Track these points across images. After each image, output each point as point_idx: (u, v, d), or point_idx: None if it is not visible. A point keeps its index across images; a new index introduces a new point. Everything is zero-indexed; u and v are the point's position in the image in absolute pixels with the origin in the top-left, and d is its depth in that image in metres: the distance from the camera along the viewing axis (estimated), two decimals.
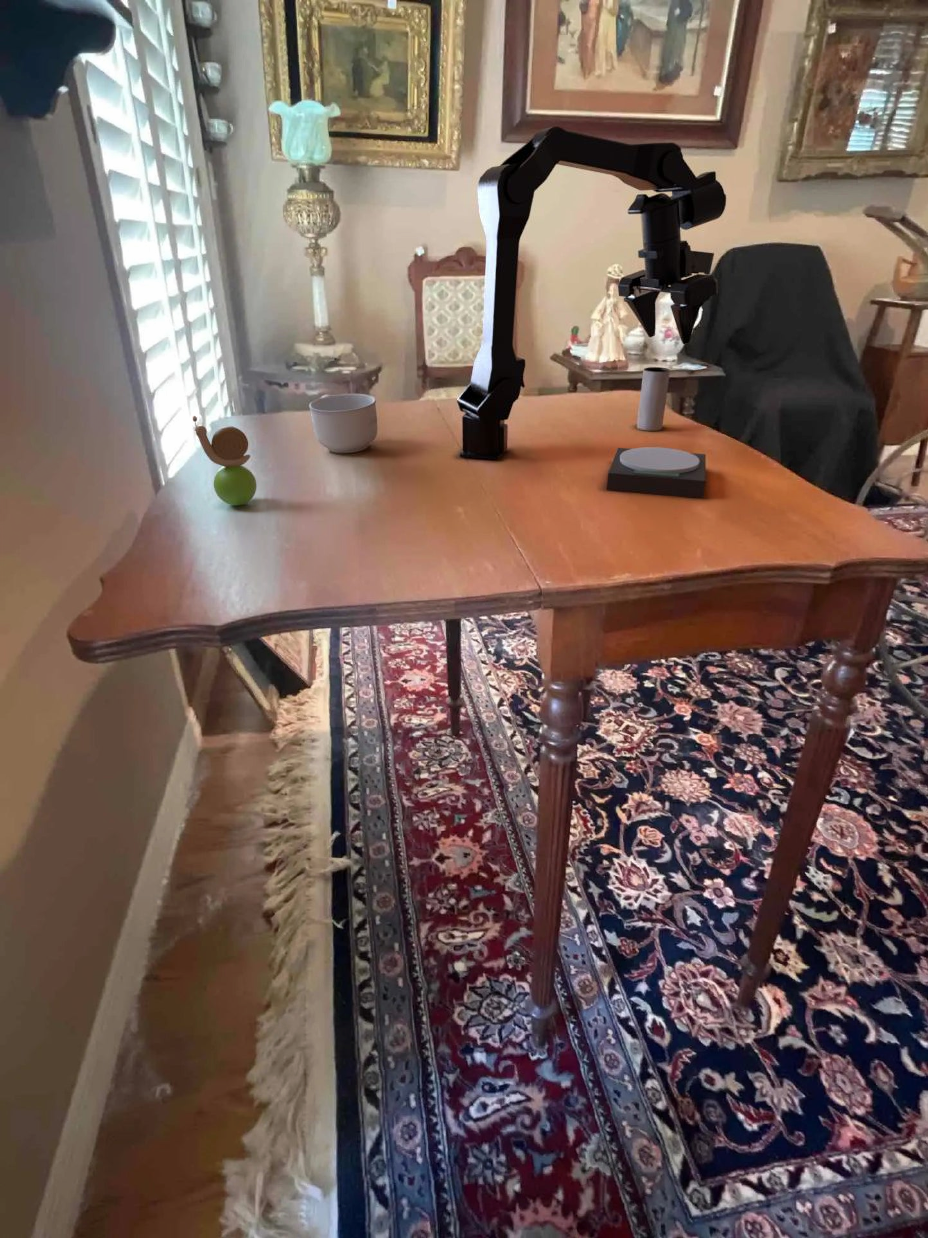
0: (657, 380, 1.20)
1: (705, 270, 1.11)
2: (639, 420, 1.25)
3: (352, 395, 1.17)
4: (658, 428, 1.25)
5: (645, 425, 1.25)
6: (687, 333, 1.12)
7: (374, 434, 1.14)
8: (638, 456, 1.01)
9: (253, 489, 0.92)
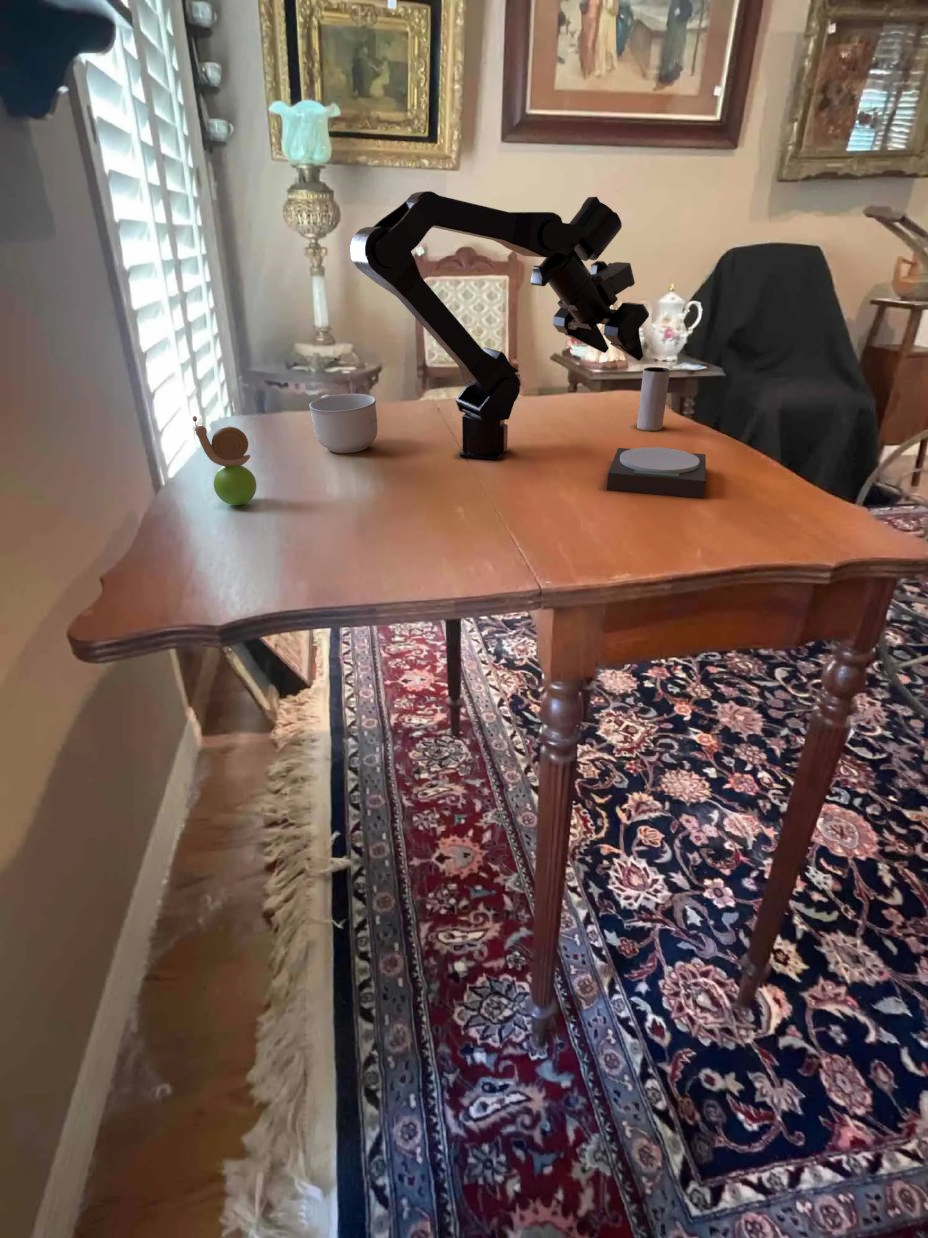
0: (657, 380, 1.20)
1: (629, 284, 1.09)
2: (639, 420, 1.25)
3: (352, 395, 1.17)
4: (658, 428, 1.25)
5: (645, 425, 1.25)
6: (637, 352, 1.12)
7: (374, 434, 1.14)
8: (638, 456, 1.01)
9: (253, 489, 0.92)
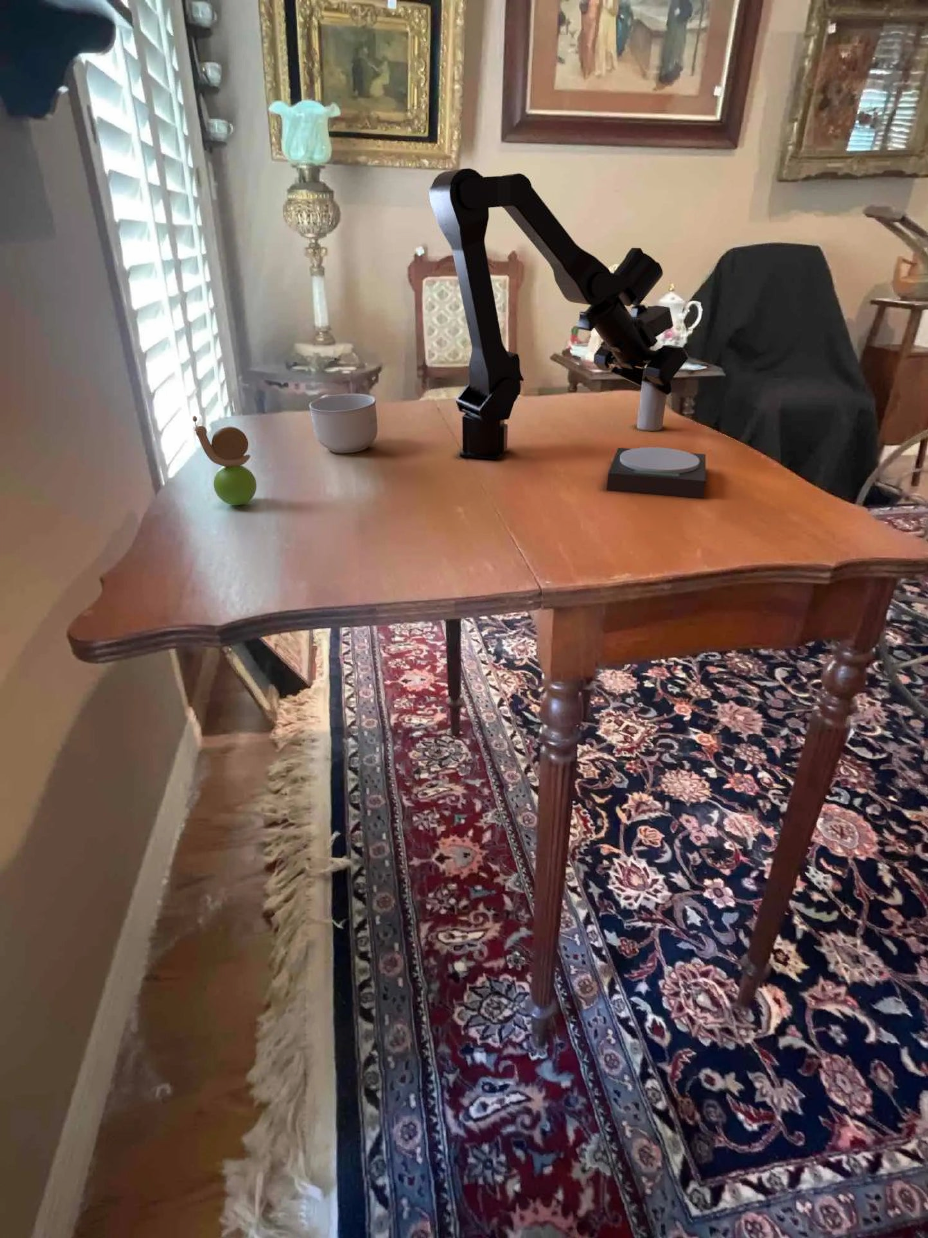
0: None
1: (668, 326, 1.16)
2: (639, 420, 1.25)
3: (352, 395, 1.17)
4: (658, 428, 1.25)
5: (645, 425, 1.25)
6: (666, 387, 1.20)
7: (374, 434, 1.14)
8: (638, 456, 1.01)
9: (253, 489, 0.92)
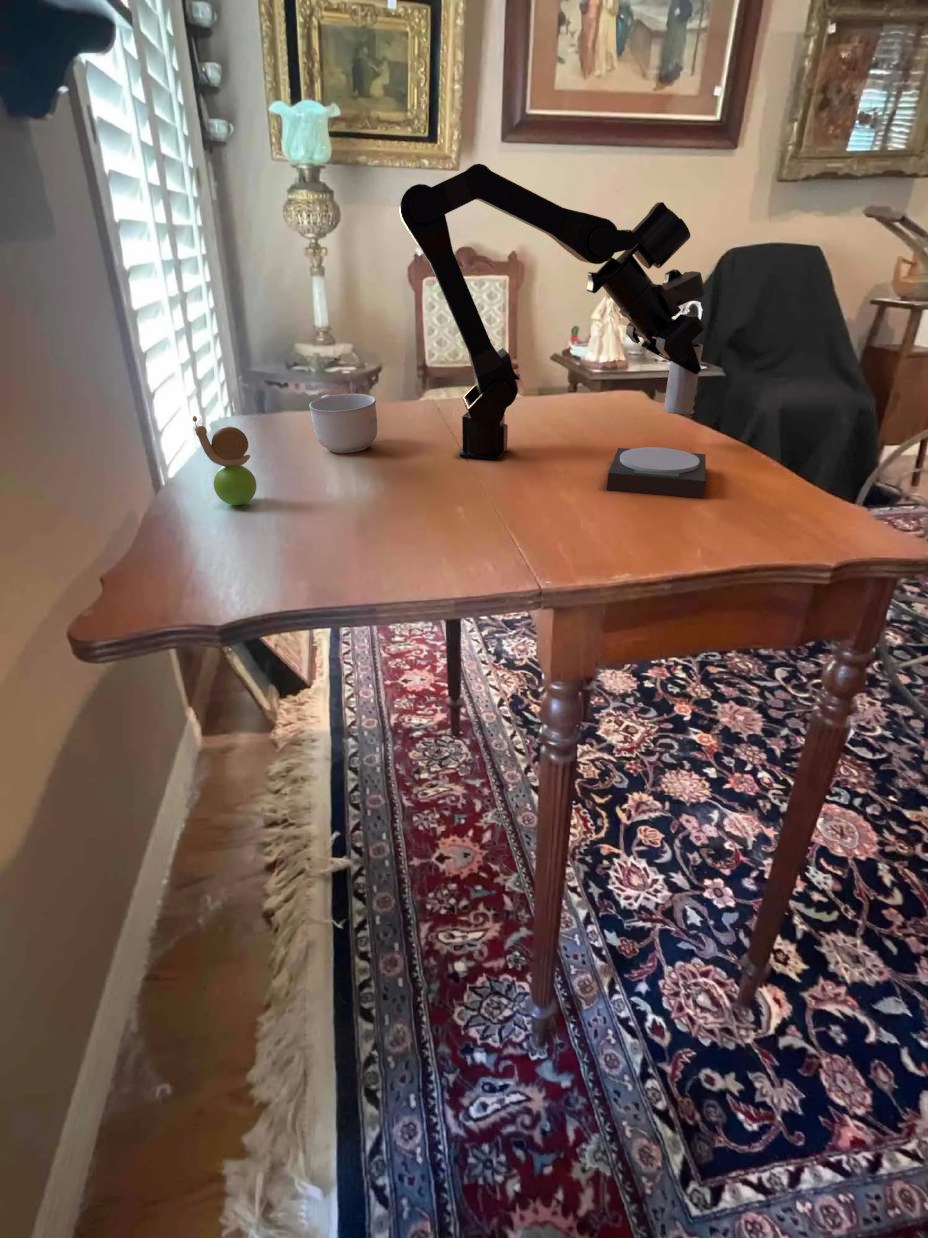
0: None
1: (697, 295, 1.02)
2: None
3: (352, 395, 1.17)
4: (684, 412, 1.11)
5: (669, 407, 1.11)
6: (693, 365, 1.06)
7: (374, 434, 1.14)
8: (638, 456, 1.01)
9: (253, 489, 0.92)
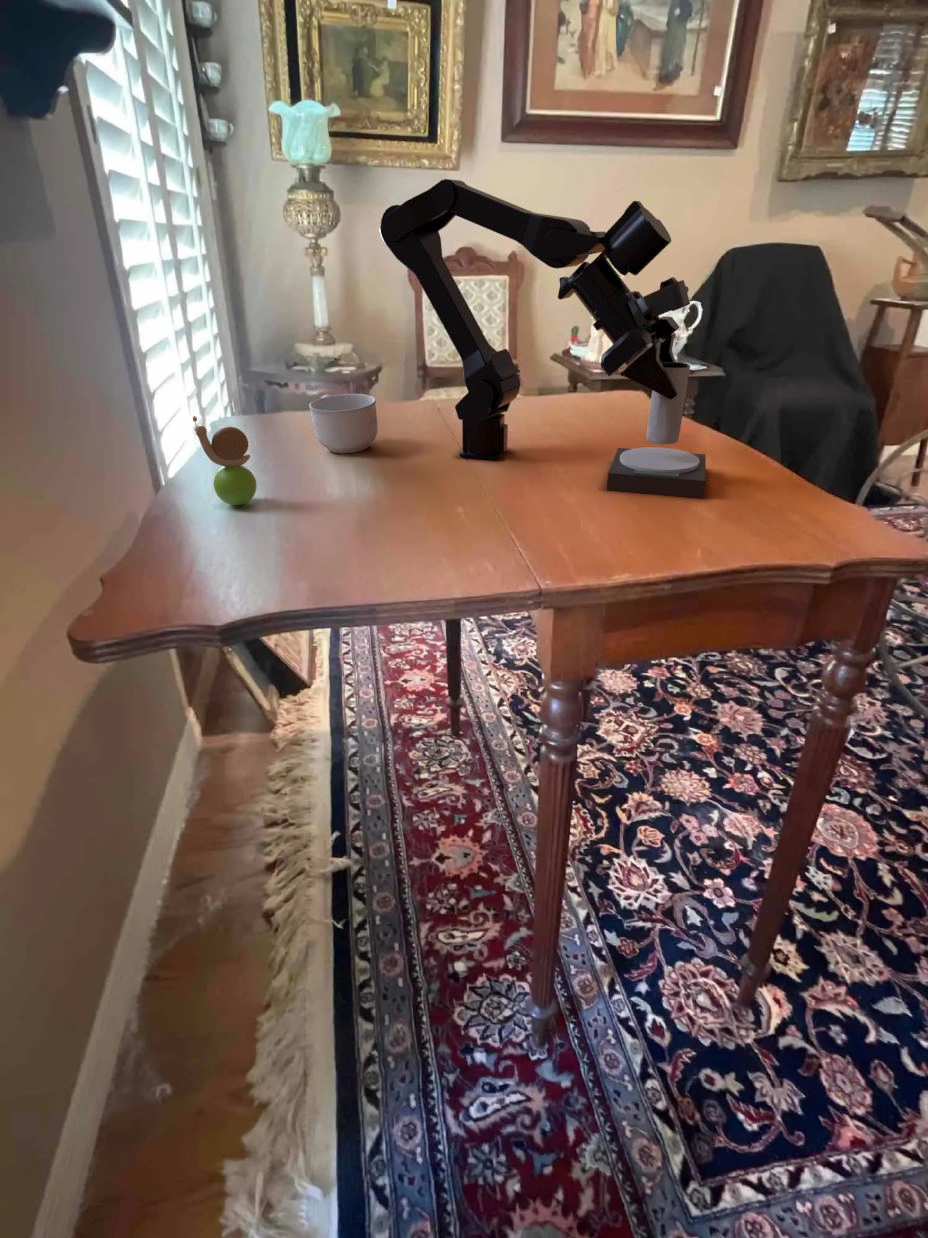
0: None
1: (670, 307, 0.88)
2: None
3: (352, 395, 1.17)
4: (659, 441, 0.97)
5: (647, 433, 0.98)
6: (664, 388, 0.92)
7: (374, 434, 1.14)
8: (638, 456, 1.01)
9: (253, 489, 0.92)
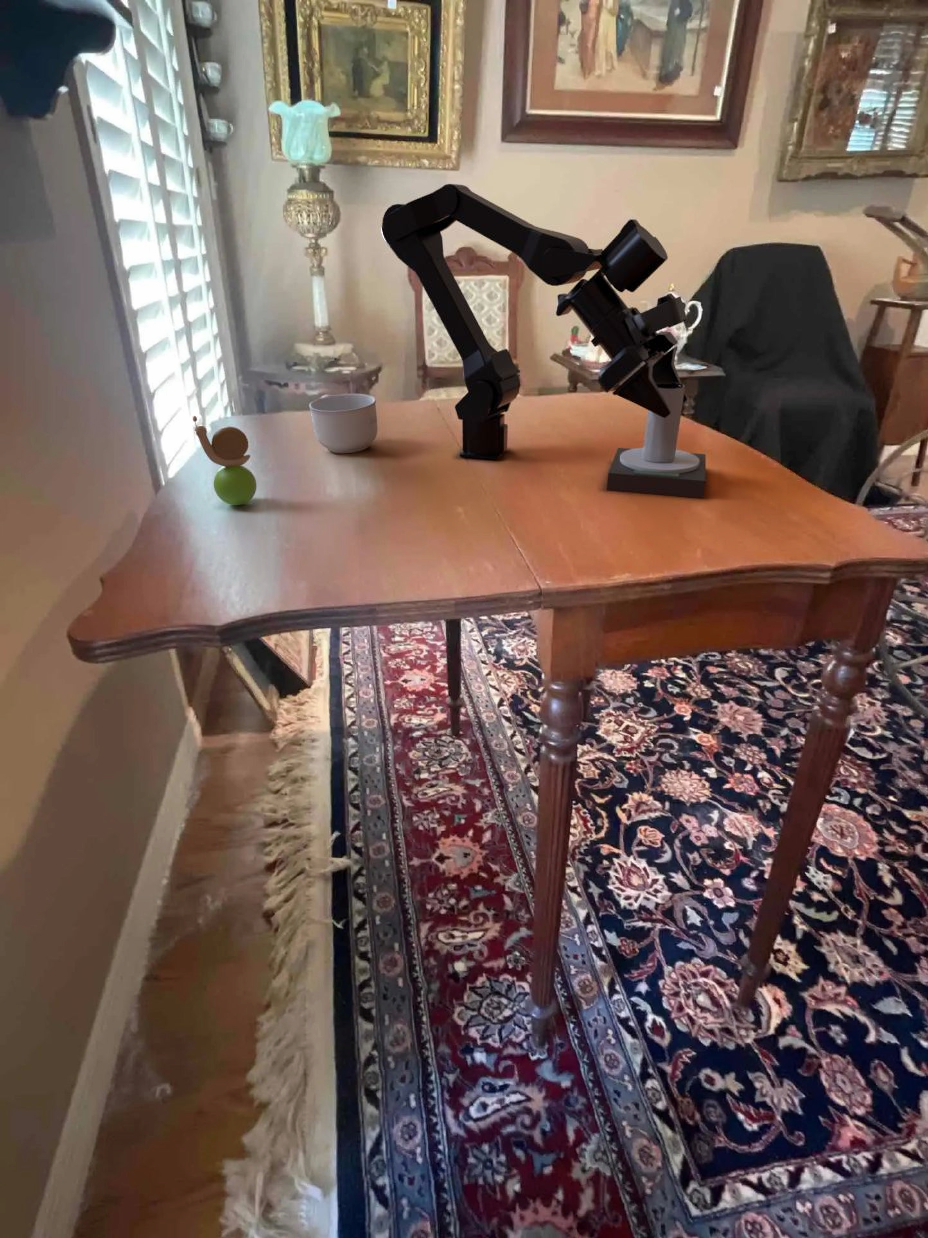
0: None
1: (666, 324, 0.89)
2: None
3: (352, 395, 1.17)
4: (655, 460, 0.98)
5: (643, 452, 0.99)
6: (657, 407, 0.91)
7: (374, 434, 1.14)
8: (638, 456, 1.01)
9: (253, 489, 0.92)
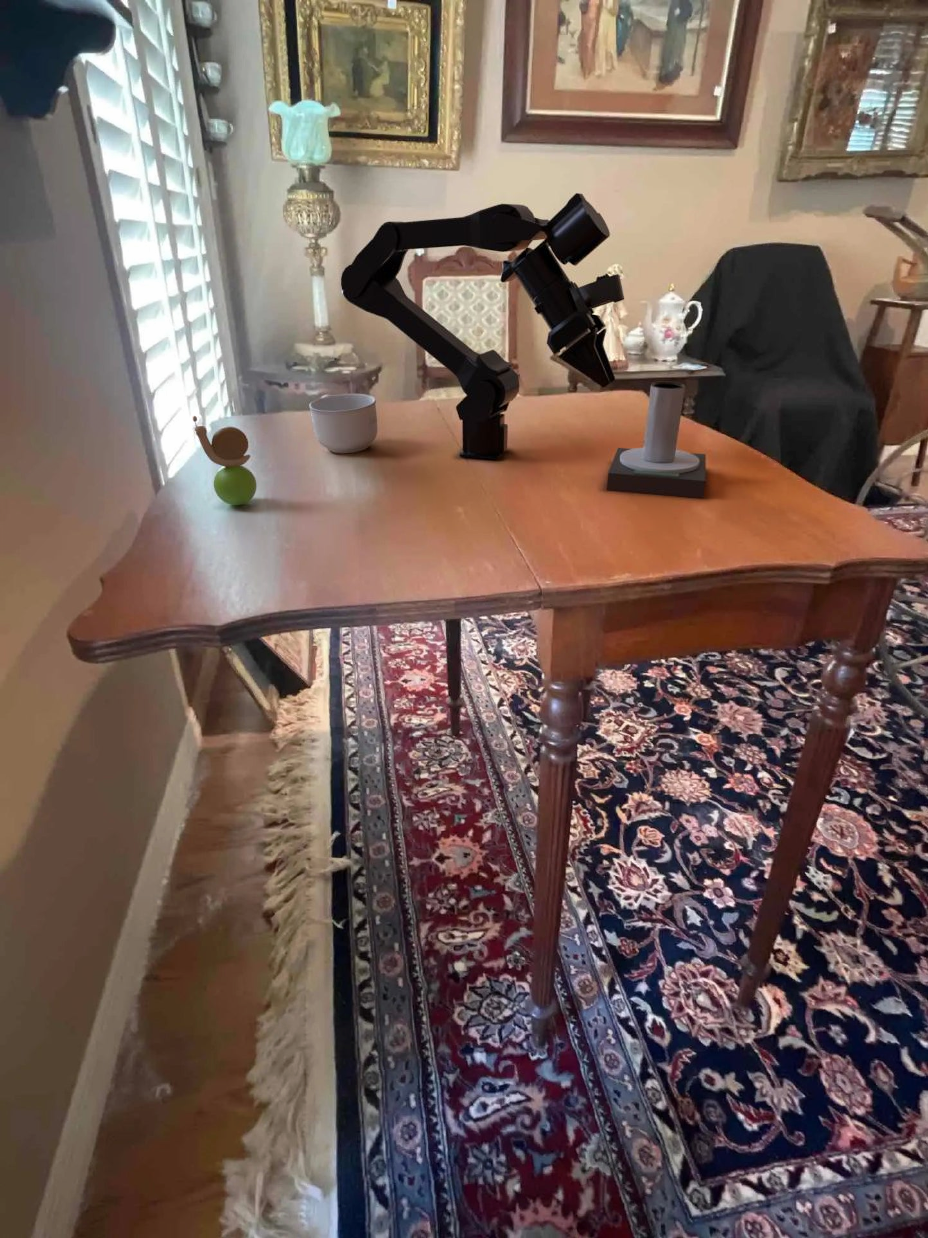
0: (654, 397, 0.94)
1: (610, 297, 0.93)
2: None
3: (352, 395, 1.17)
4: (655, 460, 0.98)
5: (643, 452, 0.99)
6: (598, 375, 0.95)
7: (374, 434, 1.14)
8: (638, 456, 1.01)
9: (253, 489, 0.92)
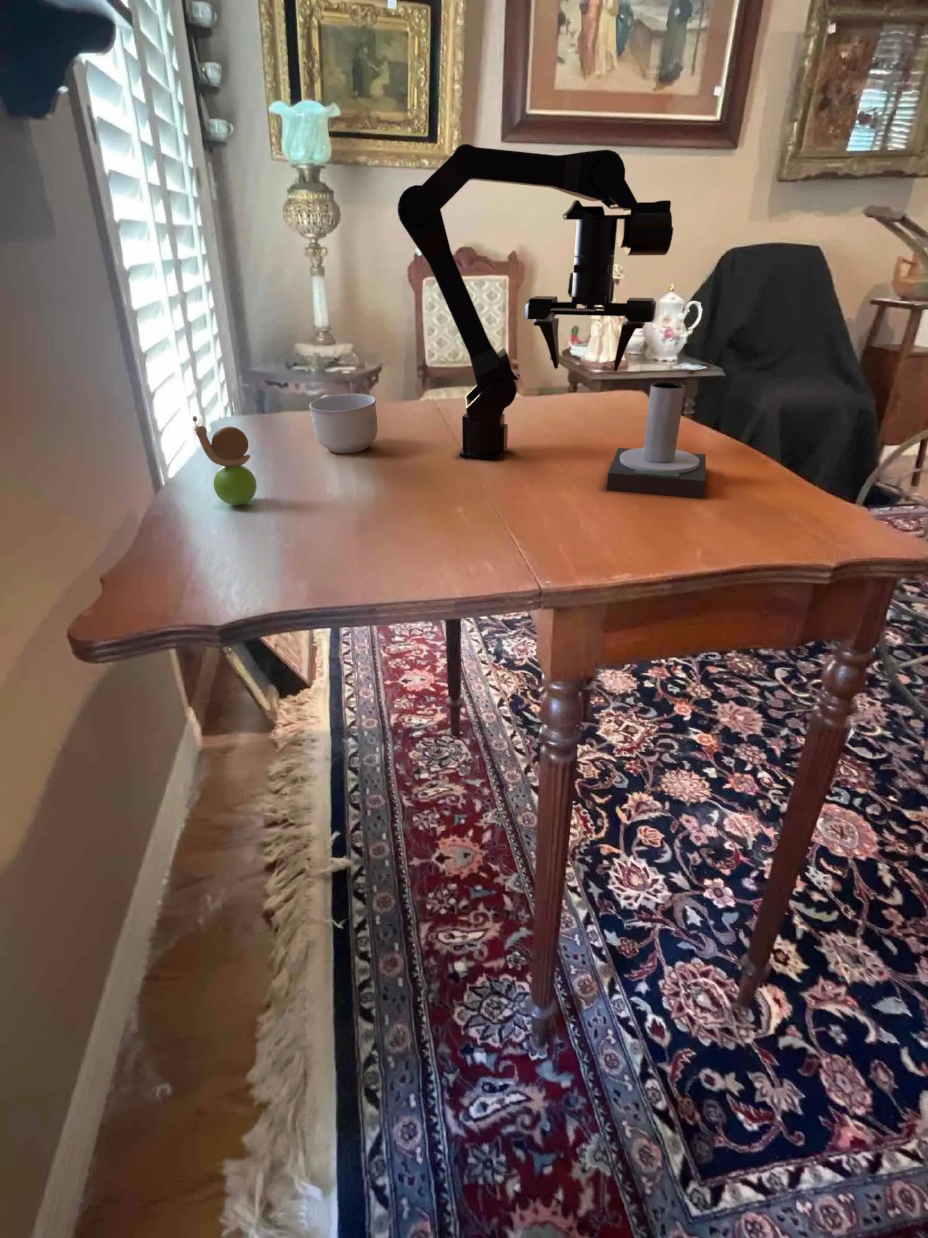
0: (654, 397, 0.94)
1: None
2: None
3: (352, 395, 1.17)
4: (655, 460, 0.98)
5: (643, 452, 0.99)
6: None
7: (374, 434, 1.14)
8: (638, 456, 1.01)
9: (253, 489, 0.92)
